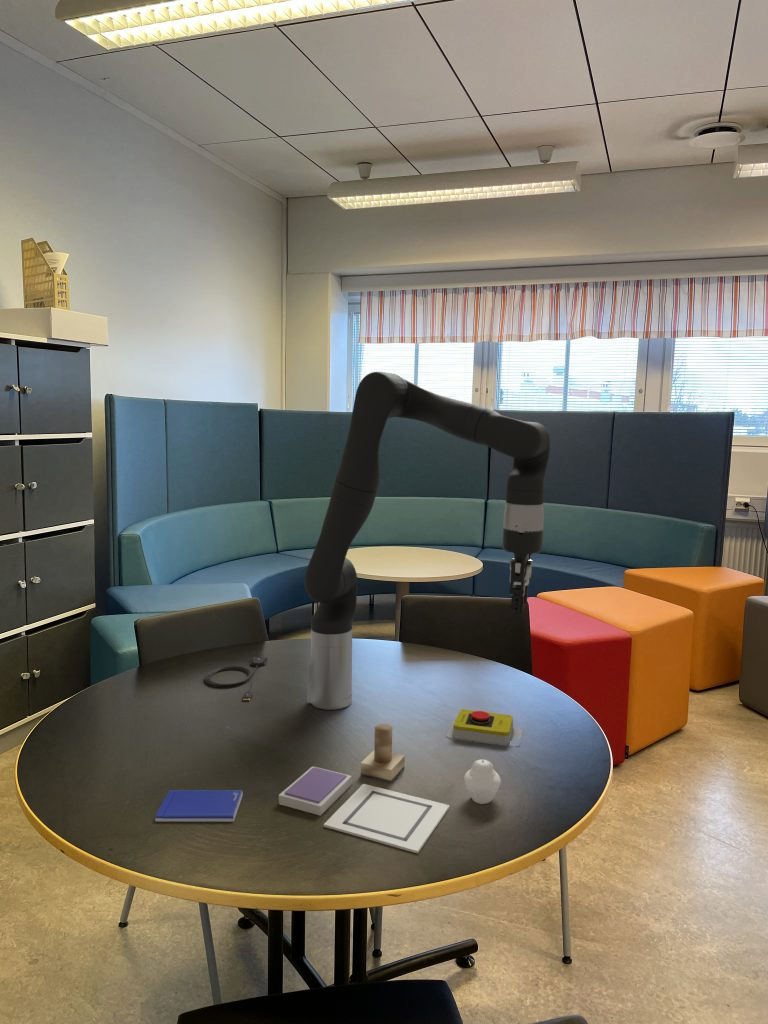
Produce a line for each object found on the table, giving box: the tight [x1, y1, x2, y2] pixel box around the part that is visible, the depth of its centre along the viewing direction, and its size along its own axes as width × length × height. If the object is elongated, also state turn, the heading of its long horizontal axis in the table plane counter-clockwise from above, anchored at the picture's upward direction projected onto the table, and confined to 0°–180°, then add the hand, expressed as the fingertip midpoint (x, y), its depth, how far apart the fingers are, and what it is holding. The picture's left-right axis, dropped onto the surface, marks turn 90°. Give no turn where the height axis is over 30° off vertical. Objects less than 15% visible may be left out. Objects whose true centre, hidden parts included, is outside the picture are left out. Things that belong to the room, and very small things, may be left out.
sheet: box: [323, 783, 451, 854], centre depth 114 cm, size 16×14×1 cm
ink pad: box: [278, 766, 353, 816], centre depth 121 cm, size 8×11×2 cm
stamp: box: [360, 723, 406, 784], centre depth 129 cm, size 6×6×9 cm
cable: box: [204, 656, 268, 702], centre depth 174 cm, size 14×28×2 cm, turn 1°
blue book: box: [154, 789, 244, 823], centre depth 116 cm, size 2×8×12 cm
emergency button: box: [445, 709, 524, 747], centre depth 146 cm, size 9×4×15 cm
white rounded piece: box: [463, 759, 502, 805], centre depth 120 cm, size 6×6×7 cm
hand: (519, 608), depth 138 cm, fingers open, 8 cm apart
